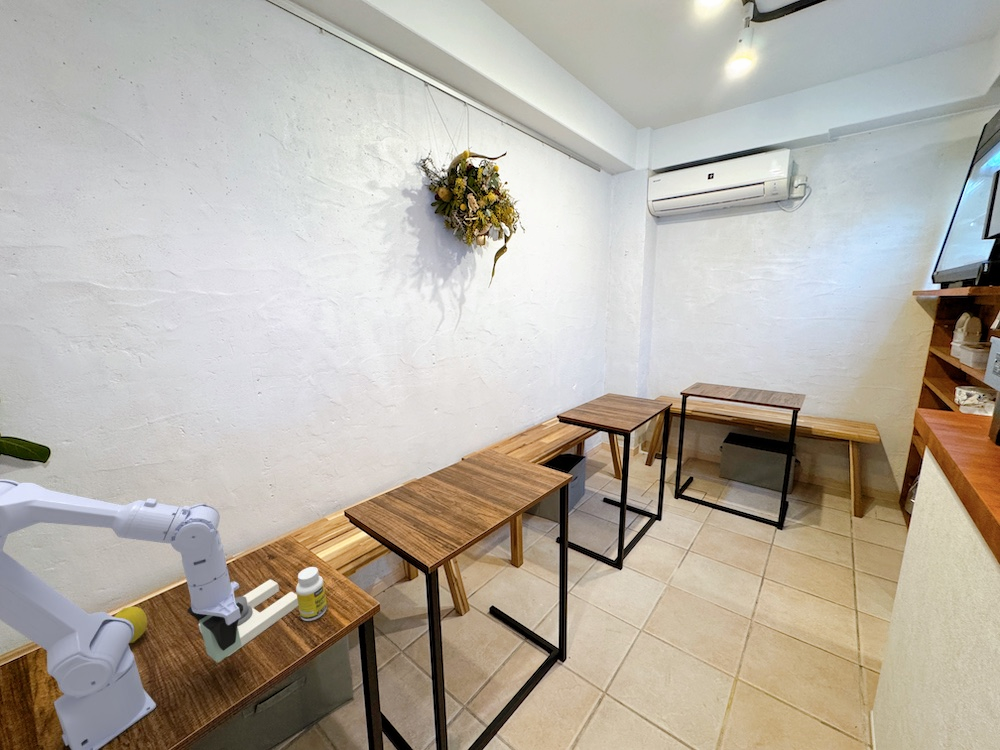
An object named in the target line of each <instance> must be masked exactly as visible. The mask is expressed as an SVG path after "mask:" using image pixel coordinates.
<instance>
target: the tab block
mask: <svg viewBox="0 0 1000 750" xmlns="http://www.w3.org/2000/svg"><path fill="white" fill-rule="evenodd" d="M211 617H212V615H207V616H206V617H204V618H202V619H201V620H199V622H200V626H201V631H202V633H201V635H202V639H203V643H204V647H205V651H206V654H207V656H209V657H210V658H211V659H212V660H213V661H214V662H215V663H217V664H218V663H220V662H221V661H223V660H224V659H225V658H226V657H229V656H228V655H229V654H231V653H232V652H234V651H235V650H236V649H238V648H239V647H241V646H242V645H241V640H240V636H239V631H238V626H237V633H236V641H235V643H234V644H233V645H231V646H230V647H228V648H227V649H225V650H224V651H223V650H222V649H221V648H220V647H219V645H218V643H217V641H216V639H215V637H214V635H213V633H212V632H211V631H210V630H209V629H207V628H206V627H205V626H204V625H203V624H202V623H203V622H204V621H206V620H208V619H209V618H211ZM199 622H198V623H199ZM242 647H243V646H242ZM242 647H241V648H242ZM239 649H240V648H239ZM239 649H238V650H239ZM235 652H236V651H235ZM235 652H234V653H235ZM232 654H233V653H232ZM232 654H231V655H232Z"/></svg>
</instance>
